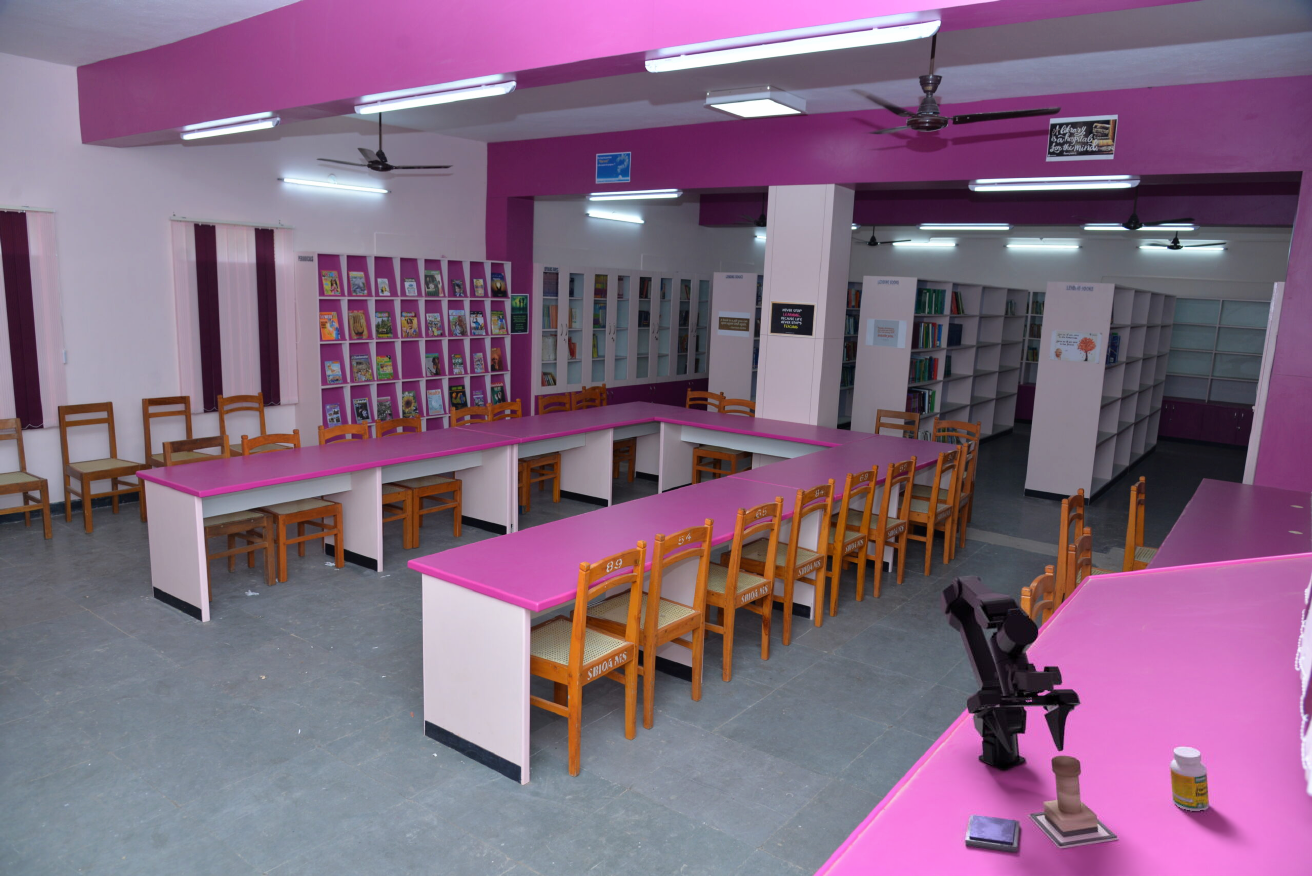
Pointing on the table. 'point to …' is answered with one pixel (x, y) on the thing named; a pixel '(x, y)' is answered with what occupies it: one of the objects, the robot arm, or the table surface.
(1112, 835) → the marked square
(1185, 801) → the supplement bottle
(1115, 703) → the table surface
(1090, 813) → the stamp
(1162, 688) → the table surface
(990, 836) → the ink pad
